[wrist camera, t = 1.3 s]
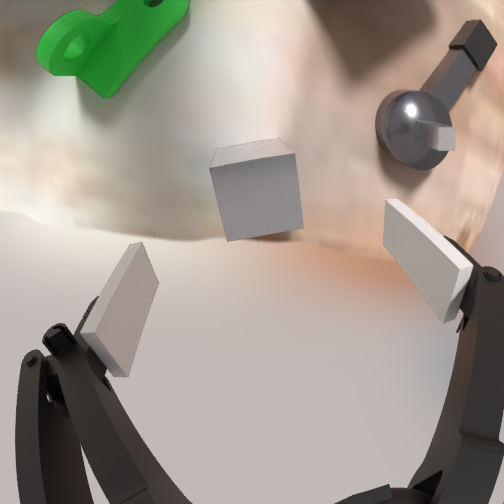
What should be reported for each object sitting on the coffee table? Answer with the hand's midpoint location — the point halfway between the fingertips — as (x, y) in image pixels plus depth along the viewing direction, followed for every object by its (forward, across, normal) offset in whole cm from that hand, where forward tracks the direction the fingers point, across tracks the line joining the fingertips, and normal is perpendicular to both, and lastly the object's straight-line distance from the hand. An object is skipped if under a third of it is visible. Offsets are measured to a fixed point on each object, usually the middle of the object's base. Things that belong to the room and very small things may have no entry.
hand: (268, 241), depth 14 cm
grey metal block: (+12, 0, 0) cm, 13 cm away
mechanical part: (+13, -8, +17) cm, 22 cm away
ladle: (+12, +16, +3) cm, 21 cm away
